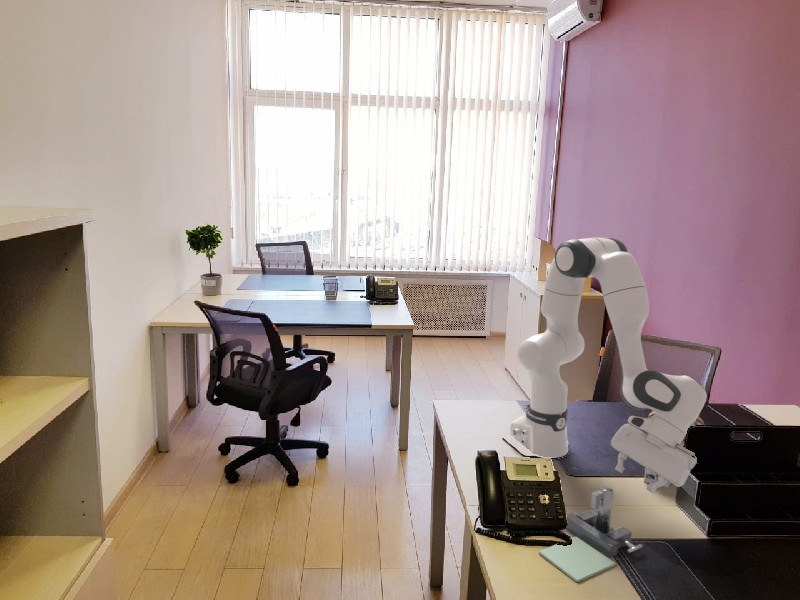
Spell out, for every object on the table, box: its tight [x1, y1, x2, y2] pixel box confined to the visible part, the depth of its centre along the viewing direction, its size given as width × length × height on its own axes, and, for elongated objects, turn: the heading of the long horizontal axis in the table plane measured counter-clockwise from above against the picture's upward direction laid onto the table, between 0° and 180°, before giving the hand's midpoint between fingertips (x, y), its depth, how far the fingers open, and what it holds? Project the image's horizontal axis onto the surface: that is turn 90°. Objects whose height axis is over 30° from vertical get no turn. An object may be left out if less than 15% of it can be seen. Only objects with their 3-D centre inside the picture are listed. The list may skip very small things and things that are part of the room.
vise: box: [566, 508, 644, 558], centre depth 150 cm, size 17×9×3 cm, turn 30°
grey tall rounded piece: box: [590, 486, 615, 535], centre depth 150 cm, size 6×7×12 cm
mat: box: [538, 536, 616, 583], centre depth 142 cm, size 12×12×1 cm
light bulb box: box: [643, 467, 670, 488], centre depth 179 cm, size 11×7×11 cm, turn 148°
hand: (633, 481), depth 156 cm, fingers open, 8 cm apart
